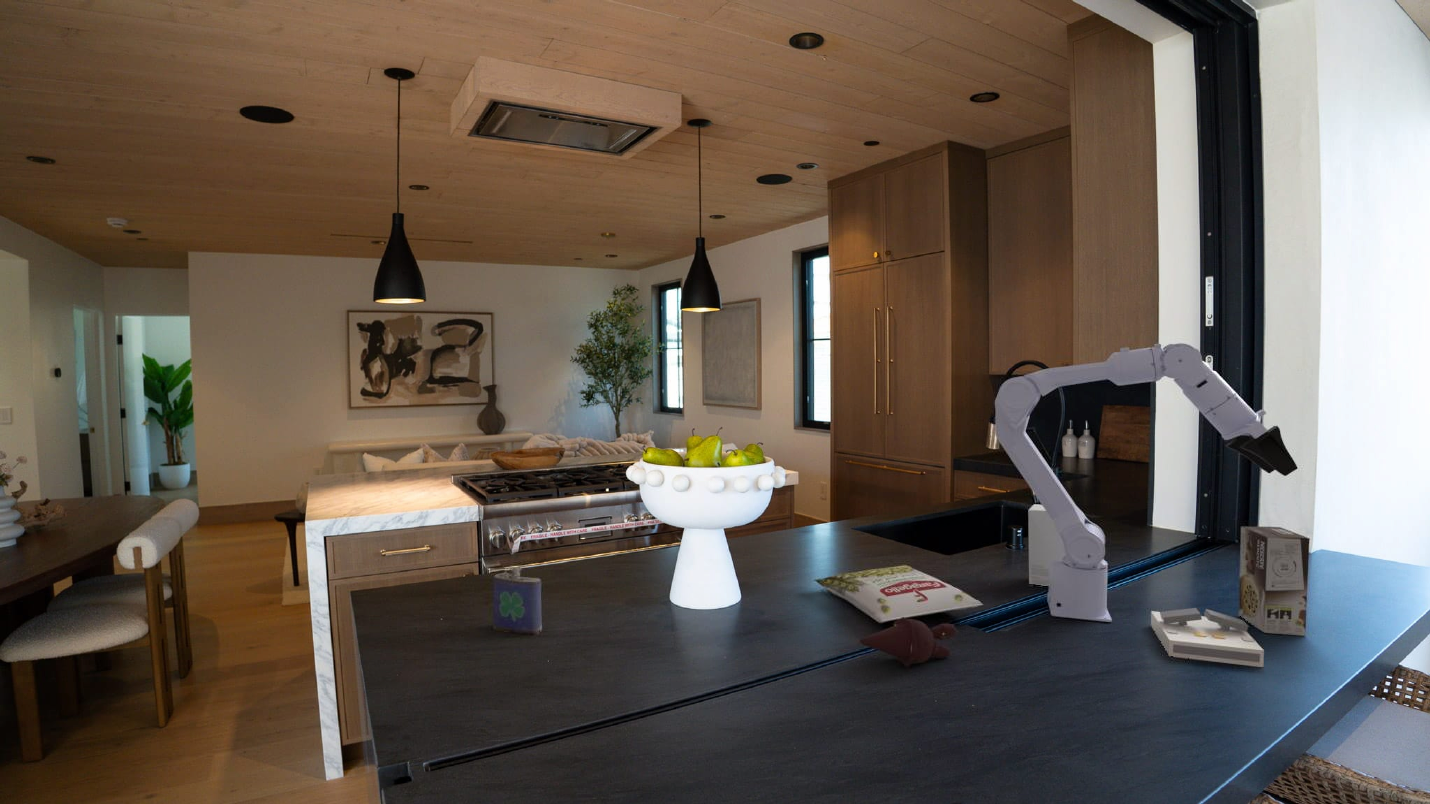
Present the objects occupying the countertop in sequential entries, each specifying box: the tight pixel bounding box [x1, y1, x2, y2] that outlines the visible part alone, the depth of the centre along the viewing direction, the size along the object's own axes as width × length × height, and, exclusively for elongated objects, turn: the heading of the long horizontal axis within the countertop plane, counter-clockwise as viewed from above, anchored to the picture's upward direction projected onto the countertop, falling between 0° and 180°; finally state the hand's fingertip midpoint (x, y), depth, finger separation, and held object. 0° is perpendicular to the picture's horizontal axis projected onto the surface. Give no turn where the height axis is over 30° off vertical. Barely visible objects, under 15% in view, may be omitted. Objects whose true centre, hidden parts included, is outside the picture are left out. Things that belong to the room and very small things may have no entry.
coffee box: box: [1238, 525, 1311, 637], centre depth 127 cm, size 9×6×16 cm
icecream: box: [859, 617, 958, 668], centre depth 112 cm, size 7×7×15 cm
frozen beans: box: [814, 564, 984, 624], centre depth 138 cm, size 21×6×25 cm
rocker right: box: [1203, 608, 1250, 633], centre depth 118 cm, size 5×3×2 cm, turn 70°
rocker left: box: [1159, 607, 1202, 626], centre depth 120 cm, size 5×3×2 cm, turn 69°
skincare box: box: [1027, 503, 1066, 587], centre depth 150 cm, size 8×7×16 cm
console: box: [1150, 610, 1265, 668], centre depth 118 cm, size 12×14×3 cm
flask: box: [492, 566, 543, 636], centre depth 126 cm, size 9×3×11 cm, turn 68°
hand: (1282, 470), depth 119 cm, fingers open, 7 cm apart
